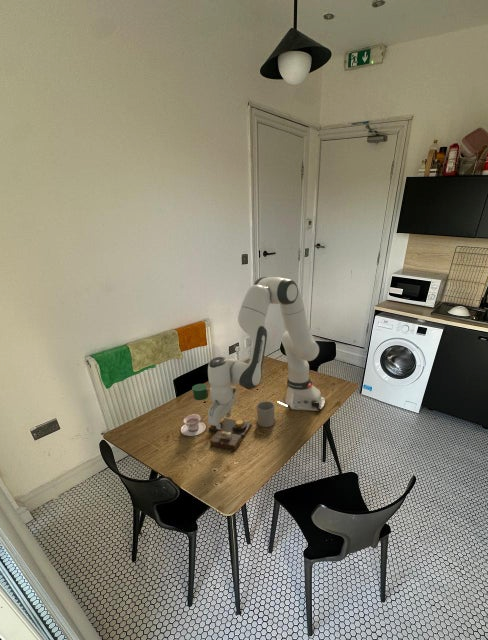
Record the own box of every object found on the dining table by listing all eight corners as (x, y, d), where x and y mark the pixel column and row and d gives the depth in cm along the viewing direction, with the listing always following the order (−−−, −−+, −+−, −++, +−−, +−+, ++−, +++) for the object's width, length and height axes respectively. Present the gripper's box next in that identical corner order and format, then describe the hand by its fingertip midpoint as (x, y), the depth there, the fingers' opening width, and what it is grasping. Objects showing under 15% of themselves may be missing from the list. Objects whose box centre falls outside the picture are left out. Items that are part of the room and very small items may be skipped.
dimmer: (242, 439, 150) (242, 434, 149) (234, 451, 143) (233, 446, 141) (219, 434, 153) (218, 429, 152) (210, 446, 146) (209, 441, 144)
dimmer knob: (231, 437, 146) (231, 432, 145) (230, 439, 145) (229, 434, 143) (221, 435, 148) (221, 430, 146) (220, 437, 146) (219, 432, 145)
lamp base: (251, 425, 160) (251, 420, 158) (243, 437, 151) (243, 431, 150) (218, 419, 164) (217, 414, 162) (209, 431, 156) (208, 425, 154)
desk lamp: (226, 417, 160) (223, 387, 151) (220, 425, 154) (216, 394, 145) (201, 412, 163) (196, 382, 154) (194, 420, 157) (189, 389, 148)
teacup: (197, 439, 150) (195, 428, 147) (175, 433, 154) (173, 422, 151) (210, 425, 160) (209, 414, 157) (190, 420, 163) (188, 409, 160)
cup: (276, 419, 165) (276, 403, 159) (270, 428, 158) (270, 411, 153) (261, 416, 167) (260, 400, 162) (255, 425, 160) (254, 408, 155)
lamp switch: (244, 423, 156) (244, 420, 155) (241, 427, 153) (241, 424, 152) (237, 422, 157) (237, 419, 156) (234, 426, 154) (234, 423, 153)
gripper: (216, 409, 125) (219, 437, 132) (237, 385, 142) (239, 411, 149) (202, 406, 127) (205, 434, 134) (224, 383, 144) (227, 409, 151)
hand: (223, 422), depth 142 cm, fingers open, 8 cm apart
